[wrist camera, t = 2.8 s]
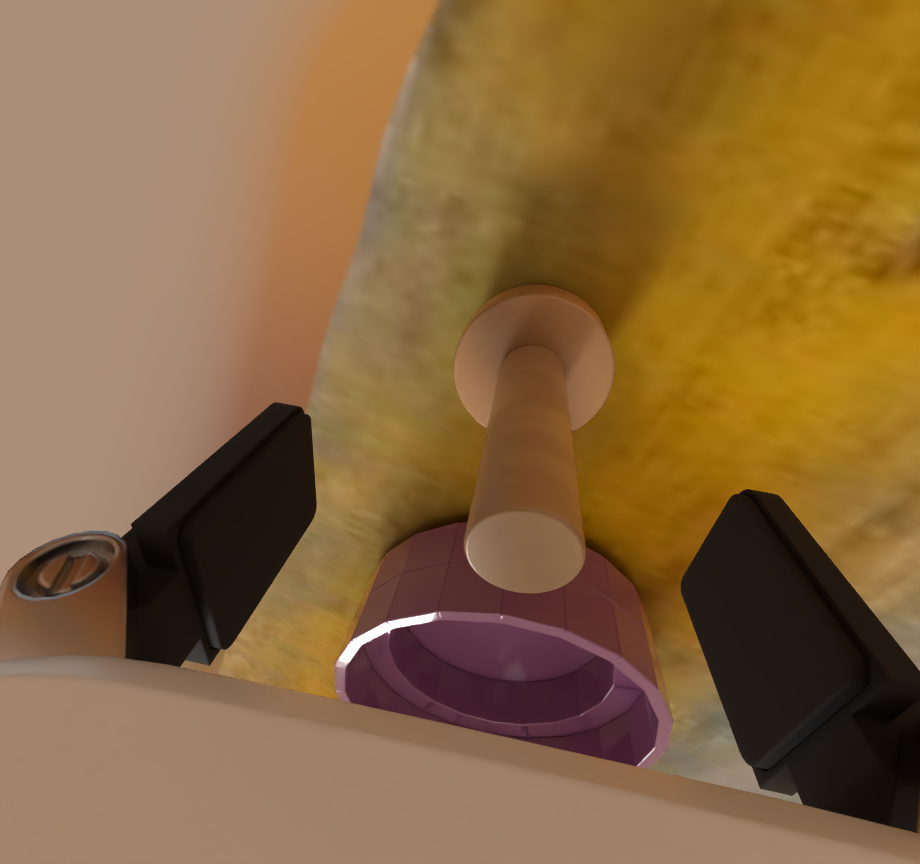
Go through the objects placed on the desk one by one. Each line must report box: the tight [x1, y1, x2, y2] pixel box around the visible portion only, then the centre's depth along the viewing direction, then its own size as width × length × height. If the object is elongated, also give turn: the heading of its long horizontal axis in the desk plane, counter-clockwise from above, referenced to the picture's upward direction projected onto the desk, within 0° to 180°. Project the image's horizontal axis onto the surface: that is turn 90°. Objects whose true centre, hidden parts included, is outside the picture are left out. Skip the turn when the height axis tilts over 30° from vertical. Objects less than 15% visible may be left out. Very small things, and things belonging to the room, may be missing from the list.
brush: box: [453, 284, 615, 593], centre depth 12 cm, size 5×5×11 cm
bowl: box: [335, 522, 673, 769], centre depth 23 cm, size 16×16×6 cm
